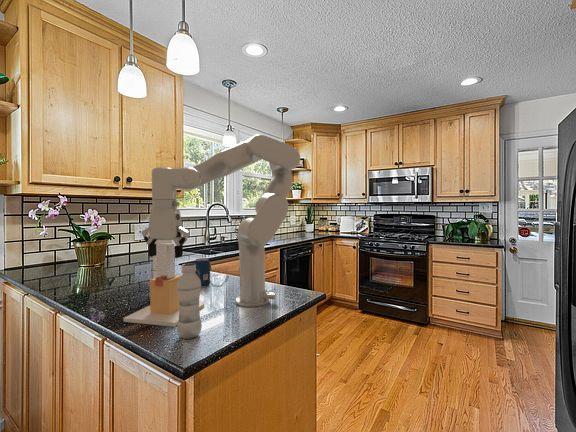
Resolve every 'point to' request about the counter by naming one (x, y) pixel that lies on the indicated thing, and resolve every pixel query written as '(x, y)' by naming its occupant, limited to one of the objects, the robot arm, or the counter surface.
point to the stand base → (160, 304)
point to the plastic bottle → (189, 303)
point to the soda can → (203, 271)
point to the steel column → (165, 260)
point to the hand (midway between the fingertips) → (165, 256)
